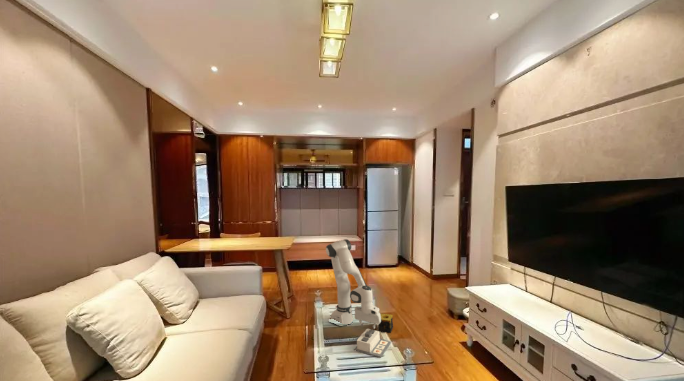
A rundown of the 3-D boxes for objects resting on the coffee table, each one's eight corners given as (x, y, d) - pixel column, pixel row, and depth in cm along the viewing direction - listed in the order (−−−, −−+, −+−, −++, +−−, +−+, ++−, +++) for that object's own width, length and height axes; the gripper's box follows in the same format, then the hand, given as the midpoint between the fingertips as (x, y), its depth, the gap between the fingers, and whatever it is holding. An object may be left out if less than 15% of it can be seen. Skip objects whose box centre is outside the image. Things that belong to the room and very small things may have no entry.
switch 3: (368, 340, 188) (368, 331, 188) (370, 337, 191) (370, 329, 191) (373, 341, 186) (372, 332, 186) (375, 338, 189) (374, 330, 189)
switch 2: (365, 342, 183) (364, 333, 183) (367, 339, 186) (366, 331, 186) (370, 343, 181) (369, 334, 181) (372, 340, 184) (371, 332, 184)
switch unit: (354, 350, 179) (353, 340, 179) (365, 336, 195) (365, 327, 195) (380, 358, 169) (380, 347, 169) (390, 342, 185) (390, 333, 185)
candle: (378, 332, 201) (377, 319, 201) (381, 325, 210) (380, 313, 211) (391, 333, 197) (390, 320, 197) (393, 327, 207) (392, 314, 207)
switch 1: (362, 348, 178) (361, 339, 178) (364, 345, 181) (363, 336, 181) (366, 349, 176) (366, 340, 176) (369, 346, 179) (368, 338, 179)
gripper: (352, 307, 194) (353, 326, 194) (378, 312, 185) (379, 331, 185) (356, 304, 200) (356, 322, 200) (381, 309, 191) (382, 327, 191)
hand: (367, 327), depth 192 cm, fingers open, 8 cm apart
